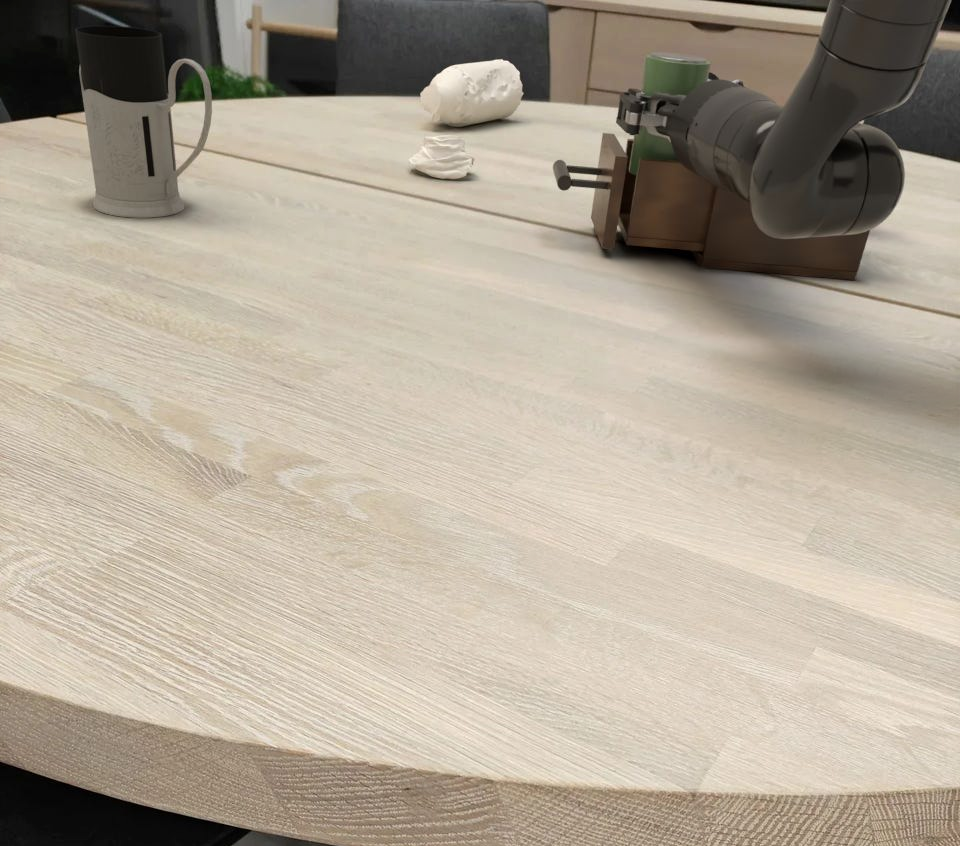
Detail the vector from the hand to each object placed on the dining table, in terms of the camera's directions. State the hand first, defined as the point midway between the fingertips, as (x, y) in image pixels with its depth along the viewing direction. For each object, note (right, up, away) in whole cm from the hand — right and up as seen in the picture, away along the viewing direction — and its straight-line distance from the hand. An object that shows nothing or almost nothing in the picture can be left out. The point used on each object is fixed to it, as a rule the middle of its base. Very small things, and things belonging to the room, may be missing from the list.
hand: (661, 102), depth 97 cm
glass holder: (-49, -10, +2) cm, 50 cm away
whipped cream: (-23, +5, +25) cm, 34 cm away
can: (0, -6, +2) cm, 6 cm away
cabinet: (+12, -12, +7) cm, 18 cm away
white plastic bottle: (-19, +25, +52) cm, 61 cm away
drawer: (-1, -11, +5) cm, 12 cm away
